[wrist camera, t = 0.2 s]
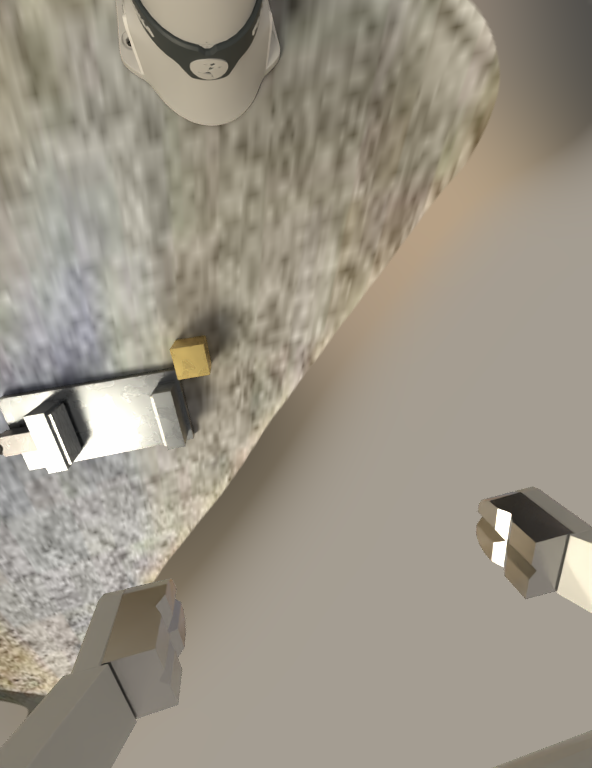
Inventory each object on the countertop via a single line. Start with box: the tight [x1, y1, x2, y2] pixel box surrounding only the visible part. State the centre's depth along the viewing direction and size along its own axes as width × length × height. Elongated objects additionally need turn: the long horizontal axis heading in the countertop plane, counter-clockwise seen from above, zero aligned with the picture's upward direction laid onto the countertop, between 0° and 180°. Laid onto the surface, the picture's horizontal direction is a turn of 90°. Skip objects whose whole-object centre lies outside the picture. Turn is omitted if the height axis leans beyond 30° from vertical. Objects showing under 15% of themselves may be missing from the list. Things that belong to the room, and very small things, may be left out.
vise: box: [0, 368, 194, 470], centre depth 50 cm, size 12×25×6 cm, turn 97°
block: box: [170, 336, 211, 380], centre depth 50 cm, size 4×4×6 cm
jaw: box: [0, 400, 82, 473], centre depth 48 cm, size 9×10×5 cm
